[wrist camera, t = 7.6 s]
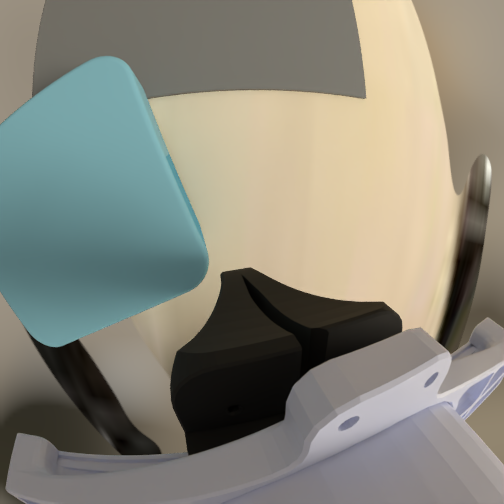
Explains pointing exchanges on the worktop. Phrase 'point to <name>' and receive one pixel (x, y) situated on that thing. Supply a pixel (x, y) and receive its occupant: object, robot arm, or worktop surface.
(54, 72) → the mat
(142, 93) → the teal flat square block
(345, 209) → the worktop surface
